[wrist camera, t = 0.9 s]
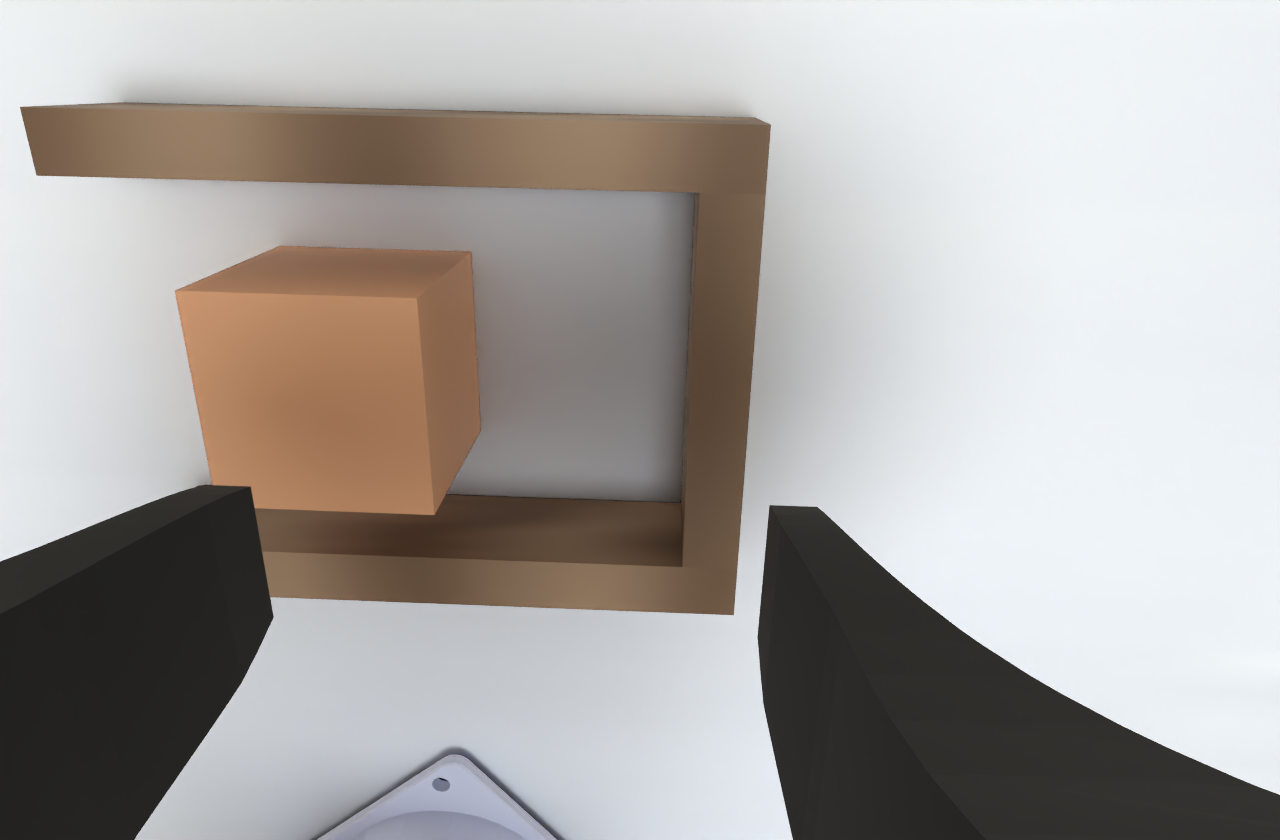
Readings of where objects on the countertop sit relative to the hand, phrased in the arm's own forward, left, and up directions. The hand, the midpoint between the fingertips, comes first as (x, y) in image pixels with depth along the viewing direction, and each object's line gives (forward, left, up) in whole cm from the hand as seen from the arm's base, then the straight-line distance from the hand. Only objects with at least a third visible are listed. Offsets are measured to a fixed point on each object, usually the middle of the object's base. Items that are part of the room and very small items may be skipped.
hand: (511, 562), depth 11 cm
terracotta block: (-4, +3, -10) cm, 11 cm away
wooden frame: (-2, +2, -9) cm, 10 cm away
